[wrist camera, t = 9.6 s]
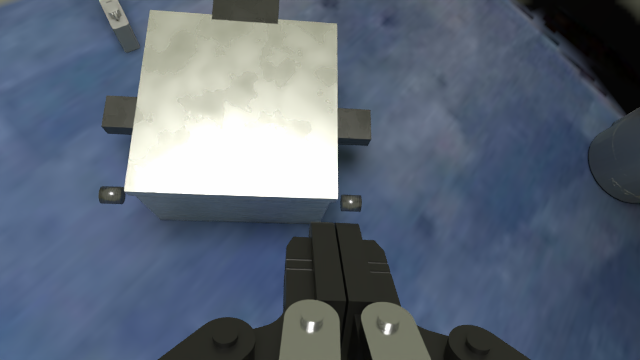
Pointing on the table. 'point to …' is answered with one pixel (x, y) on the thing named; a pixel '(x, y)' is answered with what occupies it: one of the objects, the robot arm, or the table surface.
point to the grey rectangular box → (350, 132)
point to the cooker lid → (236, 106)
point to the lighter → (120, 24)
